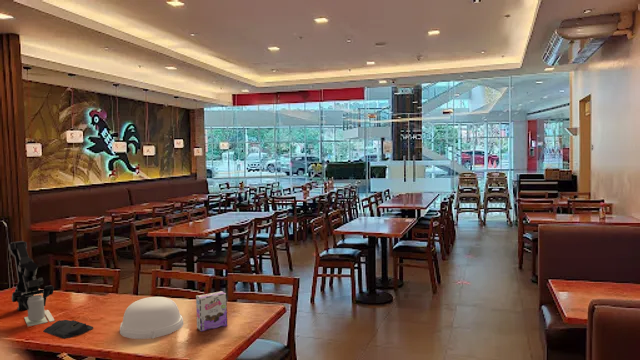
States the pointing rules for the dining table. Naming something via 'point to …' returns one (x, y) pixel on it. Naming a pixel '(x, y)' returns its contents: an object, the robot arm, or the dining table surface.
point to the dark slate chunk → (67, 328)
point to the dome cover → (151, 318)
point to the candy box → (211, 310)
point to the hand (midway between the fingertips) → (36, 307)
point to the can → (36, 308)
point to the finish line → (49, 316)
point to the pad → (31, 323)
